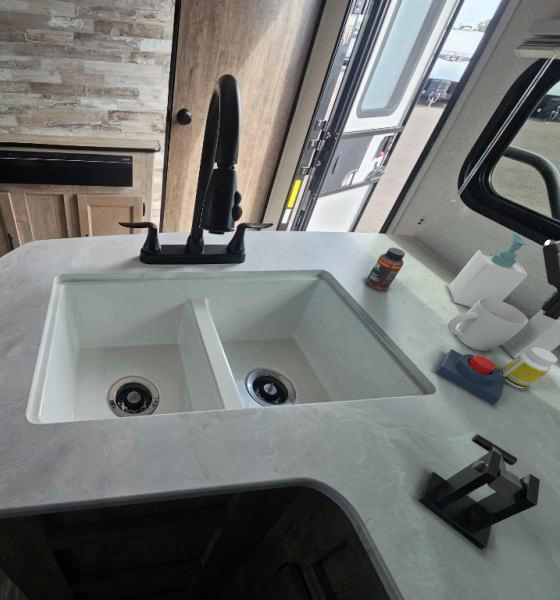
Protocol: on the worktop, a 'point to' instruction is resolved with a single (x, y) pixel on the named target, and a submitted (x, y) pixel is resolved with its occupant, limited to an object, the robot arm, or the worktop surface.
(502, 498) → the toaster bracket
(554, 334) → the cosmetic box
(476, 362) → the button
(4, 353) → the worktop surface
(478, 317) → the mug
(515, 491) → the lever
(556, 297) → the robot arm
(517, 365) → the supplement bottle
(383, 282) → the supplement bottle
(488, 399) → the button housing
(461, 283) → the soap bottle
